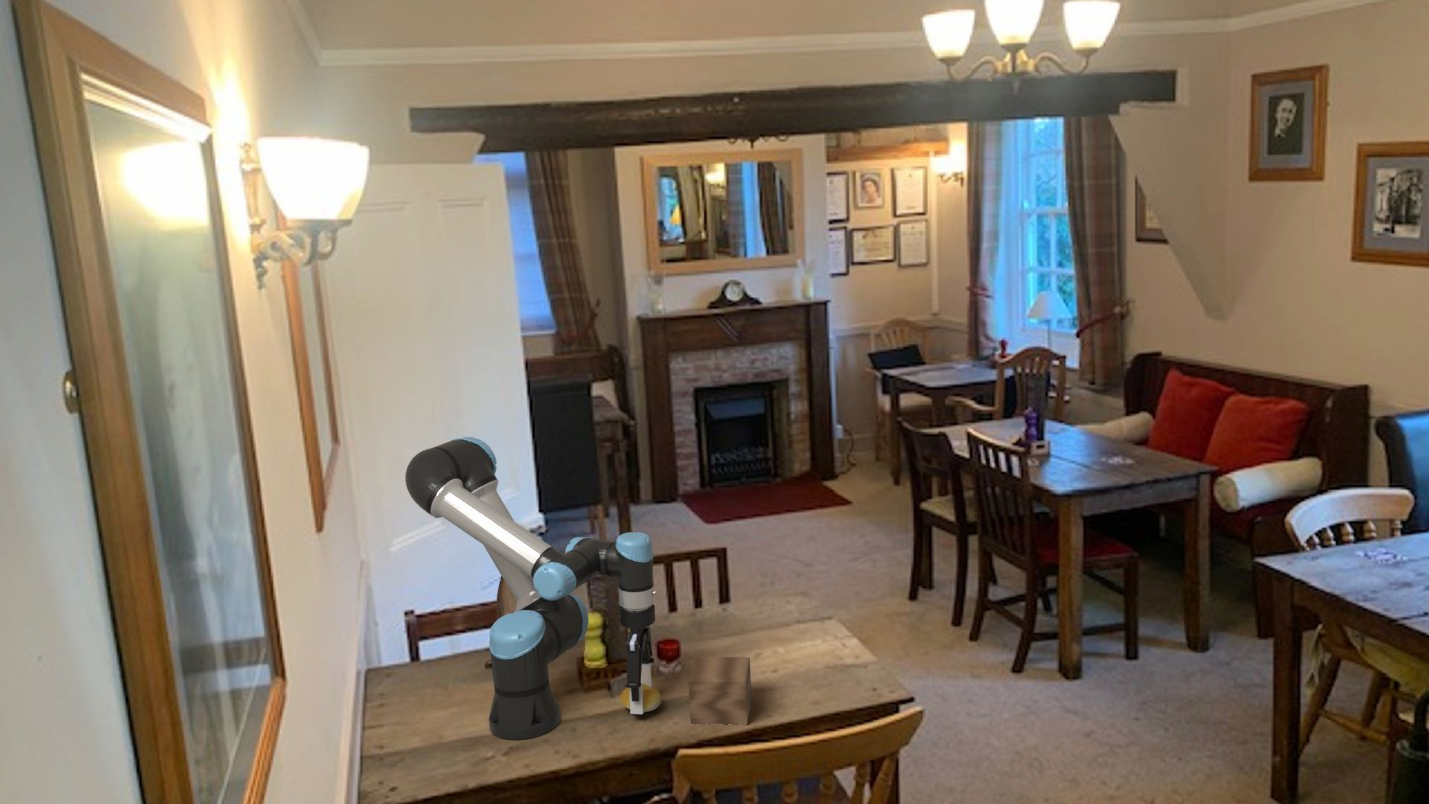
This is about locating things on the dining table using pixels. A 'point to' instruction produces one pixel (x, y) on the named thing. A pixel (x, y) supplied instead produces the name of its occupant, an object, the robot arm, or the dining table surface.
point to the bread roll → (649, 698)
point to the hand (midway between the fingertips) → (641, 702)
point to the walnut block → (720, 690)
